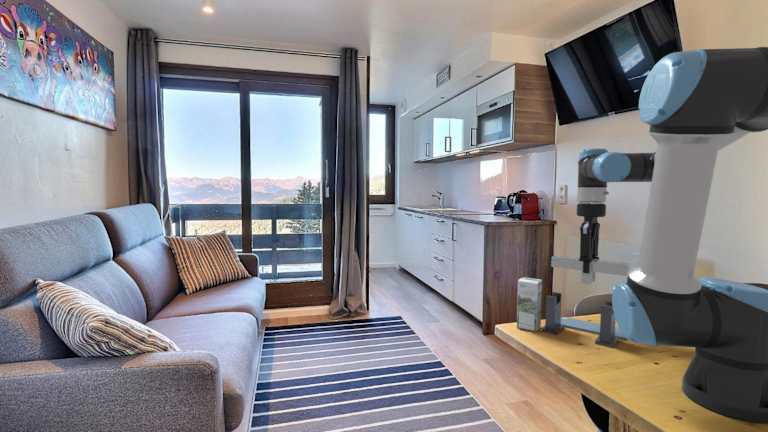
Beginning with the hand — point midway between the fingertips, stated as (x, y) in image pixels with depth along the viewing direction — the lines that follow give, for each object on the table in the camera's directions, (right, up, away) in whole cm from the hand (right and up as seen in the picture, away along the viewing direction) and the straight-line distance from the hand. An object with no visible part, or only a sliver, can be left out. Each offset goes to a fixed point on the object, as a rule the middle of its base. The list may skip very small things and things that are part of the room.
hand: (588, 282), depth 116 cm
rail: (0, +4, 0) cm, 4 cm away
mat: (0, -14, +1) cm, 13 cm away
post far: (-11, -14, -1) cm, 17 cm away
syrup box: (-17, -14, 0) cm, 22 cm away
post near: (0, -14, -10) cm, 18 cm away
